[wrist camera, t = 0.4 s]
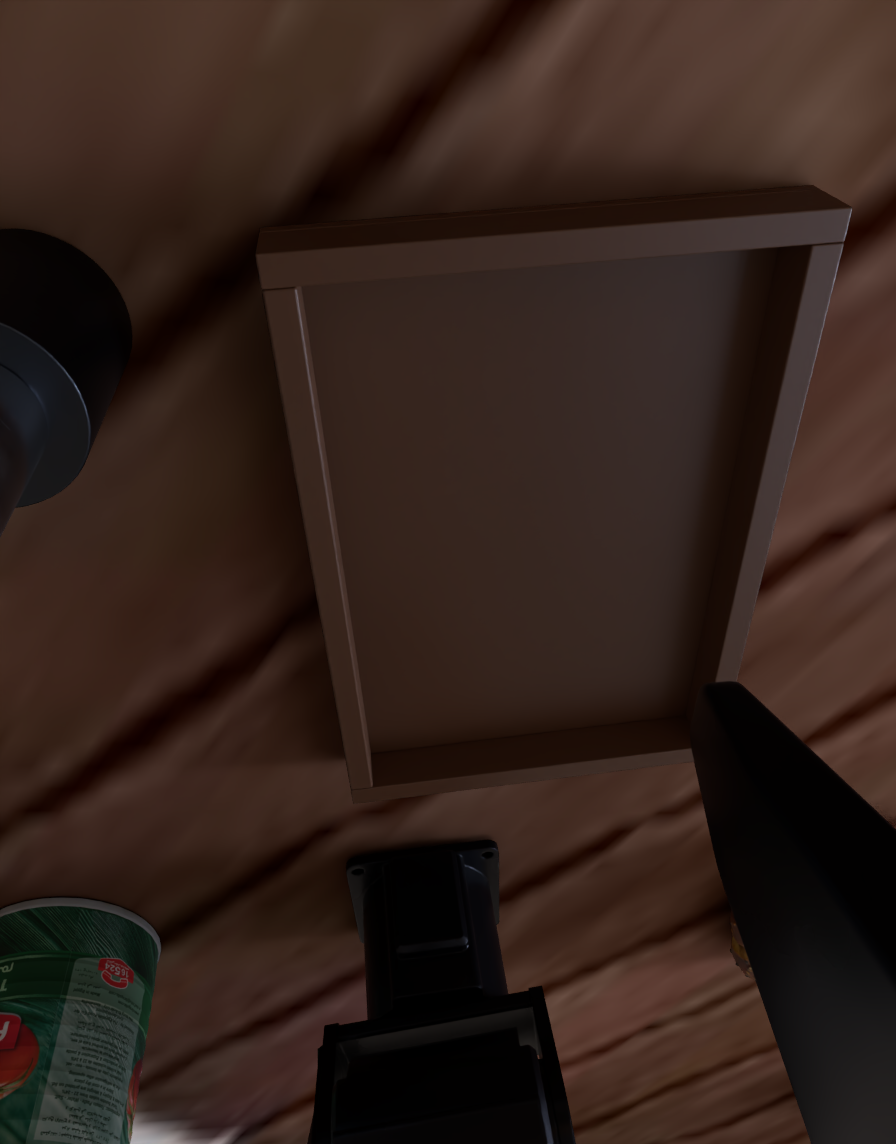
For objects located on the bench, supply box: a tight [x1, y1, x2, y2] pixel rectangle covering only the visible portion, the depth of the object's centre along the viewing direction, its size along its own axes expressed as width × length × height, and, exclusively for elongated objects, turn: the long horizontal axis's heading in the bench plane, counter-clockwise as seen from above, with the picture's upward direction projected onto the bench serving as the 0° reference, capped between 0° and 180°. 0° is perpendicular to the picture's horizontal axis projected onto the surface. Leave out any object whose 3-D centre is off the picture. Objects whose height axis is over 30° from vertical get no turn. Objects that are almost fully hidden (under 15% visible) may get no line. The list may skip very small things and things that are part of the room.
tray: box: [255, 185, 852, 804], centre depth 26 cm, size 20×14×2 cm
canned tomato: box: [0, 897, 161, 1144], centre depth 33 cm, size 8×8×11 cm
